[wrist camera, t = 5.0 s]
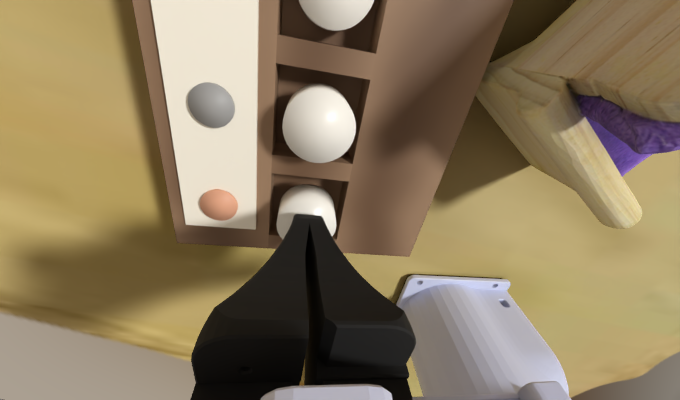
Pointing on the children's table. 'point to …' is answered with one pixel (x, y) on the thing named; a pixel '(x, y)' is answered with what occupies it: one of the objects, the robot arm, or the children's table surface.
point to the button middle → (318, 123)
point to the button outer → (336, 12)
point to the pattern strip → (212, 105)
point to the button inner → (305, 207)
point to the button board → (367, 106)
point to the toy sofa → (593, 98)
